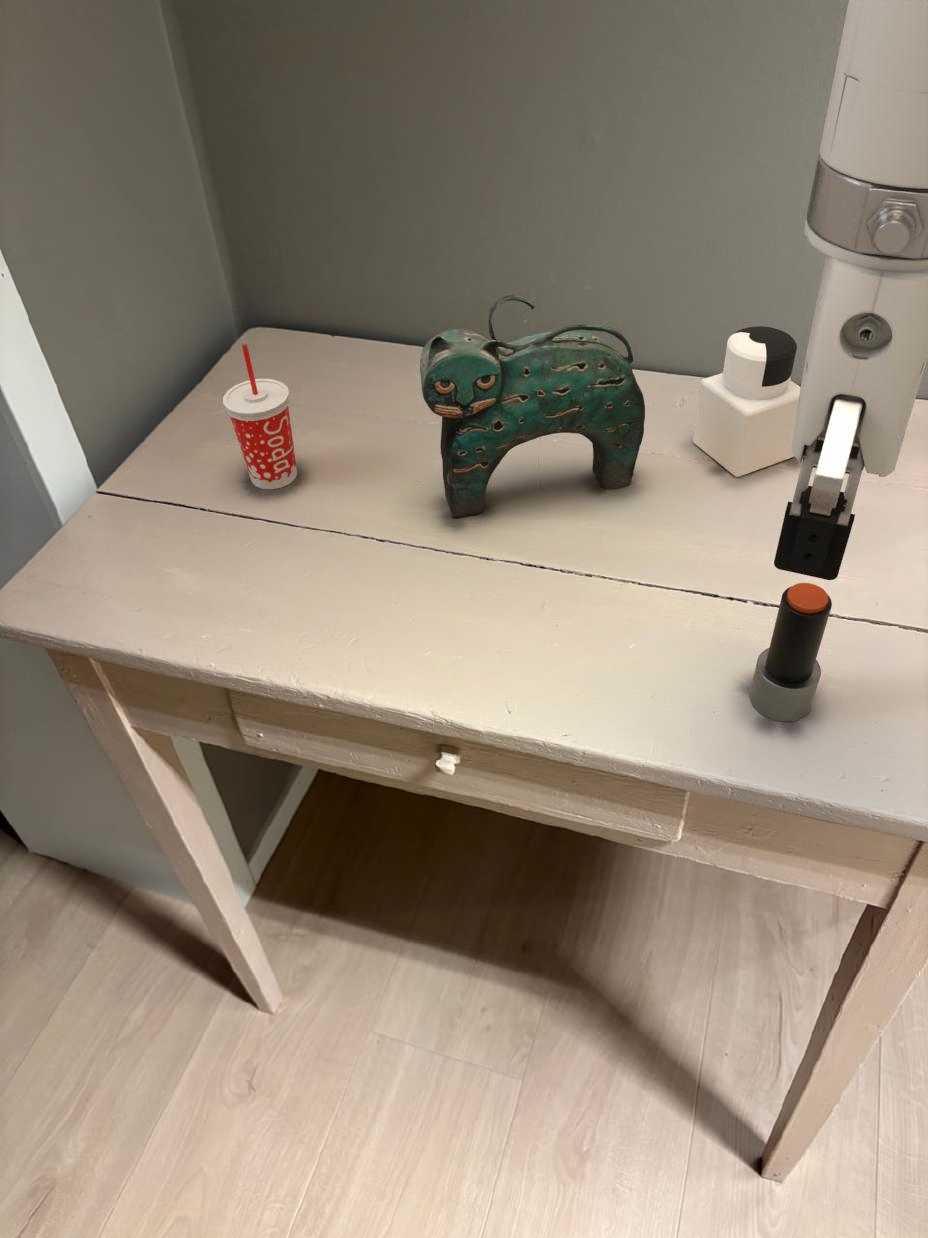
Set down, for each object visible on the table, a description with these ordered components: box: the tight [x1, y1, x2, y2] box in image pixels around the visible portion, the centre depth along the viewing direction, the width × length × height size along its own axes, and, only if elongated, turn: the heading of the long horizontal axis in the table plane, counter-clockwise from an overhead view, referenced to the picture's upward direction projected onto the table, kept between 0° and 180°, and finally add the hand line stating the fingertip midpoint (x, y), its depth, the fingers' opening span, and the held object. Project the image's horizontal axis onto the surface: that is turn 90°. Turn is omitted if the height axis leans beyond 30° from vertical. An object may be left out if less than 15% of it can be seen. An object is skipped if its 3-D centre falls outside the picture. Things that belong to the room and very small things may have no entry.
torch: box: [749, 582, 833, 723], centre depth 67 cm, size 4×4×10 cm
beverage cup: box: [222, 344, 298, 490], centre depth 90 cm, size 6×6×14 cm
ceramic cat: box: [419, 294, 646, 519], centre depth 84 cm, size 20×6×20 cm, turn 102°
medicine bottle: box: [692, 325, 801, 478], centre depth 89 cm, size 7×7×12 cm
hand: (819, 516), depth 53 cm, fingers open, 9 cm apart
